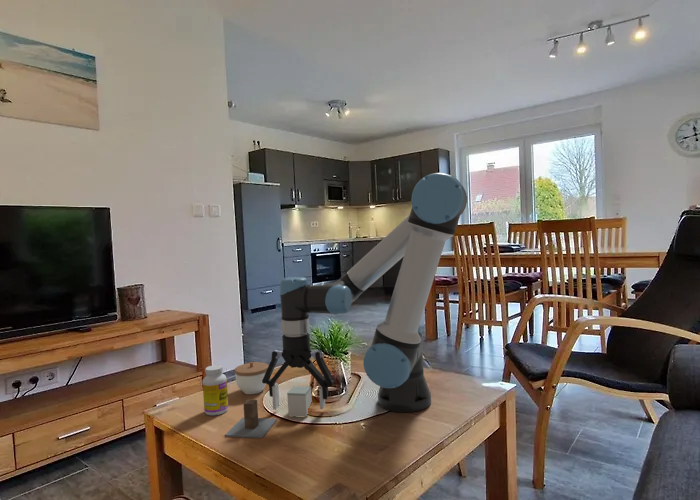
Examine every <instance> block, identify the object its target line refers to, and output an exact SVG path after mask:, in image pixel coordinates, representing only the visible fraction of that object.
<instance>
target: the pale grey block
mask: <svg viewBox="0 0 700 500" xmlns="http://www.w3.org/2000/svg"><path fill="white" fill-rule="evenodd" d="M286 397H287V411H288V413H287V414H288V417H289V416H307V414H308V408H309V406H310V404H311V402H312V403H313V399H312V398H313V396H312V386H306V385H305V386H304V385H302V386H300V385H298V386H297V385H296V386H295V385H293V386H292V387H291V388H290V390H289V391H288V392H287V393H286Z"/></svg>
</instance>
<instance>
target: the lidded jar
mask: <svg viewBox="0 0 700 500" xmlns="http://www.w3.org/2000/svg"><path fill="white" fill-rule="evenodd" d="M268 366H269V364H268V363H266V362H259V361H256V362H255V361H254V362H253V361H250V362H247V363H242V364H240V365H237V367H235V368H234V374H235V375H234V377H235V382H236V386H237V388H239V390H241V391H242V392H243V393H244V394H245V395H256V394H259V393H261V392H263V389H264V388H266V386H267V384H266V383H265V384H264V383H263V382H262V380H263V378H264V375H265V373H266V371H267V369H268Z"/></svg>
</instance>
